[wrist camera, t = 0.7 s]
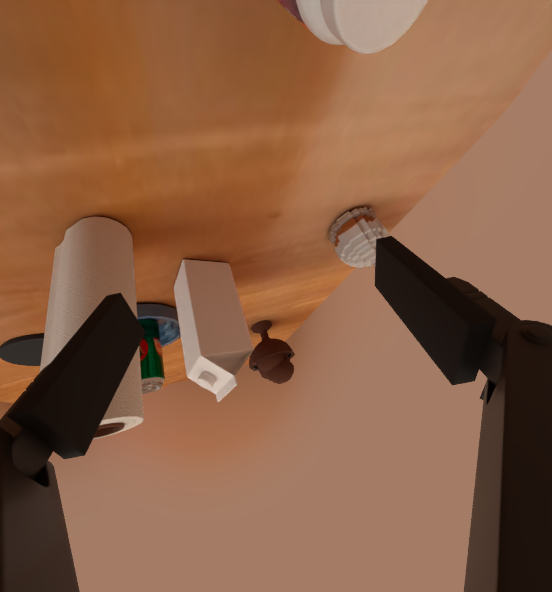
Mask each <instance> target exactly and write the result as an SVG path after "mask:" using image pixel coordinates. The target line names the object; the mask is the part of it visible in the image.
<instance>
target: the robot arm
mask: <svg viewBox="0 0 552 592" xmlns="http://www.w3.org/2000/svg"><path fill="white" fill-rule="evenodd" d="M375 286H376V288H377V289H378V290H379V292H380V293H381V294H382V295H383V297H384V298H385V299H386V301H387V302H388V303H389V305H390V306H391V307H392V308H393V310H394V311H395V312H396V314H397V315H398V316H399V317H400V319H401V320H402V321H403V323H404V324H405V325H406V326H407V328H408V329H409V330H410V332H411V333H412V334H413V335H414V337H415V338H416V339H417V341H418V342H419V343H420V344H421V346H422V347H423V348H424V350H425V351H426V352H427V353H428V355H429V356H430V357H431V359H432V360H433V361H434V362H435V364H436V365H437V366H438V368H439V369H440V370H441V371H442V373H443V374H444V375H445V376H446V378H447V379H448V380H449V382H450V383H451V384H452V385H456V384H462V383H467V382H472V381H475V379H476V376H477V373H478V370H479V369H480V370H481V371H482V372H483V374H484V375H485V376H486V377H487V378H488V379H487V382H486V384H485V387H484V389H483V391H482V394H481V396H480V399H482V400H484V403H483V411H482V421H481V432H480V441H479V450H478V461H477V470H476V479H475V489H474V499H473V508H472V519H471V528H470V537H469V547H468V557H467V566H466V577H465V586H464V592H552V326H551V325H549V324H545V323H541V322H538V321H530V320H522V321H521V320H520V319H518V318H517V317H516V316H514V315H513V314H512V313H510V312H509V311H507V310H506V309H505V308H503V307H502V306H500V305H499V304H498V303H496V302H495V301H494V300H492V299H491V298H488V297H487V295H485V294H484V293H482V292H481V291H480V292H479V290H478V289H477V288H476V287H474V286H473V285H471V284H470V283H469V282H466V281H464V280H461V279H459V278H456V277H451V278H444V277H443V276H442V275H441V274H439V273H438V272H437V271H436V270H434V269H433V268H432V267H430V266H429V265H428V264H427V263H425V262H424V261H423V260H422V259H420V258H419V257H418V256H416V255H415V254H414V253H413V252H411V251H410V250H409V249H408V248H406V247H405V246H404V245H402V244H401V243H400V242H399V241H397V240H396V239H395V238H394V237H392V236H389V237H384V238H379V239H376V262H375ZM145 333H146V332H145V331H144V329H143V328H142V326H141V324H140V323H139V321H138V319H137V318H136V316H135V315H134V313H133V311H132V310H131V308H130V307H129V305H128V303H127V302H126V300H125V298H124V297H123V295H122V294H121V293H116V294H111V295H107V296H106V297H105V298H104V299H103V300H102V301H101V303H100V304H99V305H98V306H97V307H96V309H95V310H94V311H93V312H92V314H91V315H90V316H89V317H88V318H87V320H86V321H85V322H84V323H83V324H82V326H81V327H80V328H79V329H78V330H77V332H76V333H75V334H74V335H73V336H72V338H71V339H70V340H69V341H68V342H67V344H66V345H65V346H64V347H63V349H62V350H61V351H60V352H59V353H58V355H57V356H56V357H55V358H54V359H53V361H52V362H51V363H50V364H48V365H47V366H46V367H45V368H44V369H42V371H41V372H40V373H39V374H38V375H37V377H36V378H35V379H34V382H32V383H31V384H30V385H29V386H28V387H27V388H26V391H24V392H23V393H22V394H21V396H20V397H19V398H18V399H17V400H16V402H15V403H14V404H13V405H12V406H11V408H10V409H9V410H8V411H7V412H6V414H5V415H4V416H3V417H2V418H1V420H0V592H79V587H78V582H77V577H76V572H75V568H74V563H73V558H72V553H71V549H70V544H69V539H68V533H67V528H66V523H65V519H64V514H63V509H62V504H61V499H60V494H59V489H58V484H57V479H56V475H55V470H54V466H53V465H52V463H51V462H49V461H48V459H49V457H50V456H51V454H52V452H53V451H54V452H55V453H57V454H58V455H59V456H61V457H62V458H63V459H67V458H73V457H78V456H84V455H85V454H86V452H87V450H88V448H89V445H90V444H91V442H92V440H93V438H94V436H95V434H96V432H97V430H98V428H99V426H100V424H101V421H102V419H103V417H104V415H105V413H106V411H107V409H108V407H109V405H110V403H111V401H112V399H113V397H114V395H115V393H116V391H117V389H118V387H119V385H120V383H121V381H122V379H123V377H124V375H125V373H126V371H127V369H128V367H129V365H130V363H131V361H132V359H133V357H134V355H135V353H136V351H137V349H138V347H139V345H140V343H141V341H142V339H143V337H144V335H145Z"/></svg>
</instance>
